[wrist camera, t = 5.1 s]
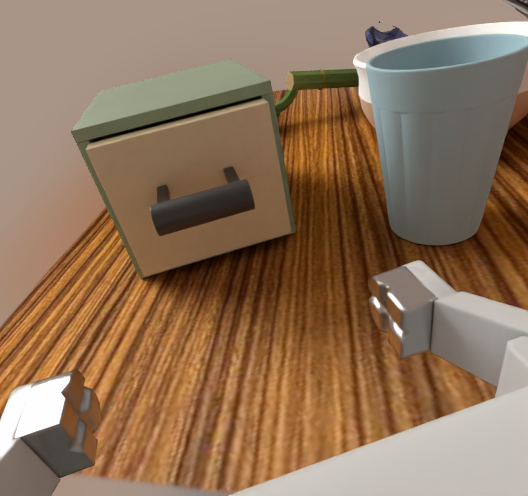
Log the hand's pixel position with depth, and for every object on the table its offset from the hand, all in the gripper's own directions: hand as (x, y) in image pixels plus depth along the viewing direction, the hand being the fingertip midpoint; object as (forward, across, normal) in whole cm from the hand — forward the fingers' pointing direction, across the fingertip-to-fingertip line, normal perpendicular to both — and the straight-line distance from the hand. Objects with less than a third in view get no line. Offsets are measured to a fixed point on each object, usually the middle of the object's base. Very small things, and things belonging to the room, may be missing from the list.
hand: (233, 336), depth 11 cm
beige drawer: (+18, 0, +6) cm, 19 cm away
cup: (+12, -14, +7) cm, 20 cm away
